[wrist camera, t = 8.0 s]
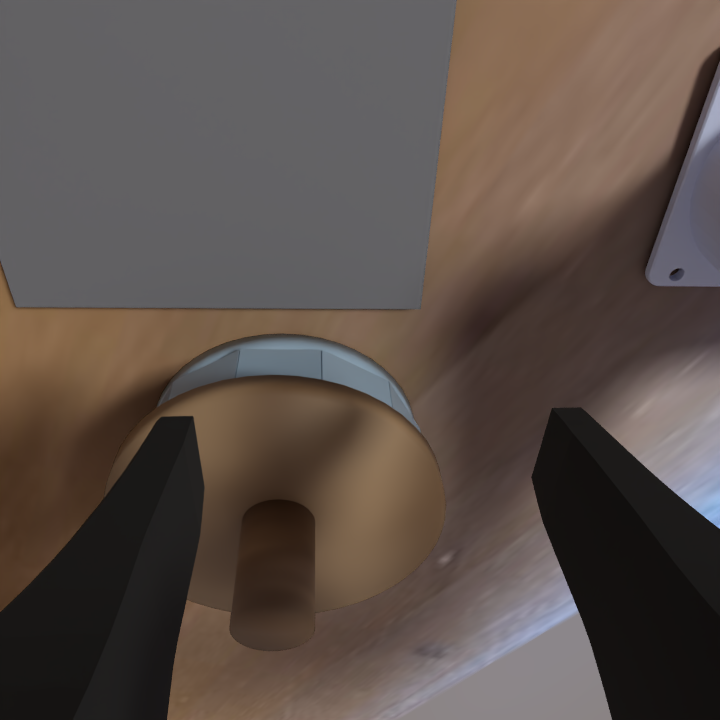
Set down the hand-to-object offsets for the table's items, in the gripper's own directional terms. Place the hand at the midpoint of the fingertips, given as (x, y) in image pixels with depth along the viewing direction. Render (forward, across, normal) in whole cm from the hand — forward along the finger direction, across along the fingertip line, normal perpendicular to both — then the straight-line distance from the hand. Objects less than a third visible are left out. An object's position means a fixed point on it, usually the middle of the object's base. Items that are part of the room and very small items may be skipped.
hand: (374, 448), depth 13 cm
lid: (+6, +2, +9) cm, 12 cm away
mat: (+10, +4, -4) cm, 12 cm away
